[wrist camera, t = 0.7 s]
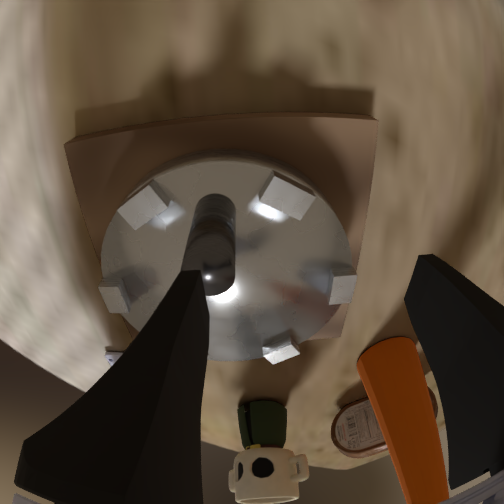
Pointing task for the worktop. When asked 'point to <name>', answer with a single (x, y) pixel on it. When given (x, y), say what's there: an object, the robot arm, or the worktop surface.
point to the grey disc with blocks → (231, 251)
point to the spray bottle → (405, 418)
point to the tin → (361, 429)
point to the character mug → (265, 457)
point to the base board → (233, 137)
